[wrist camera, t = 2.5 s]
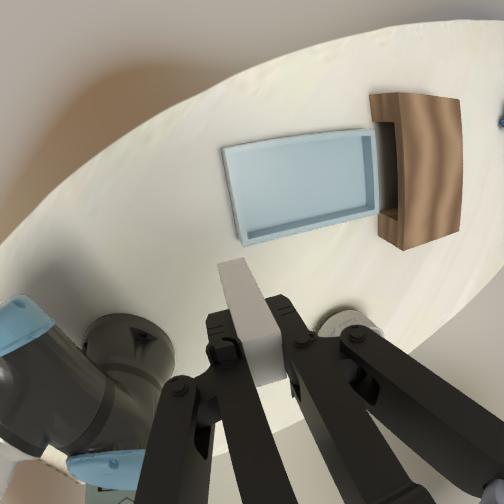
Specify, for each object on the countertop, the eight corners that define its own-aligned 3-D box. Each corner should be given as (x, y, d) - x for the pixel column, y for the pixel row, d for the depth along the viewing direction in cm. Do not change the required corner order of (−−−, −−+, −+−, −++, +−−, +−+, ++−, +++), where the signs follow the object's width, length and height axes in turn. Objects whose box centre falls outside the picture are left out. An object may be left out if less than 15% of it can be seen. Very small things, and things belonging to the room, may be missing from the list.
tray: (238, 238, 38) (243, 247, 35) (220, 147, 33) (224, 148, 30) (367, 208, 41) (379, 213, 38) (362, 128, 36) (374, 129, 33)
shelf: (377, 235, 43) (403, 251, 38) (368, 95, 34) (397, 92, 28) (434, 219, 45) (458, 231, 40) (431, 98, 36) (459, 99, 30)
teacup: (338, 292, 46) (363, 319, 39) (372, 314, 50) (396, 339, 43) (286, 352, 48) (302, 385, 41) (325, 367, 53) (342, 395, 46)
